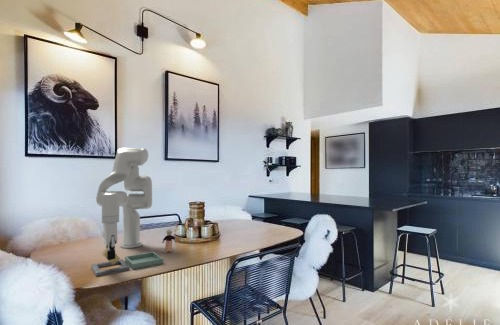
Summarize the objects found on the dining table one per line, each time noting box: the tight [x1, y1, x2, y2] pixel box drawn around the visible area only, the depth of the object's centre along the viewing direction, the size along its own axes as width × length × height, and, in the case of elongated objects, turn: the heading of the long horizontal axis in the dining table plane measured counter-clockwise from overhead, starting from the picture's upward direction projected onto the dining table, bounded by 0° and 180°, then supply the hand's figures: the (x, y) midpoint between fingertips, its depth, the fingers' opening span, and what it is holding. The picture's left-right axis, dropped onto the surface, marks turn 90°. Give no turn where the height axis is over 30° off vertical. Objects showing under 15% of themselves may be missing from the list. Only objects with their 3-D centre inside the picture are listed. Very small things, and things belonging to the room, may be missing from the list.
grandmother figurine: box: [161, 229, 177, 253], centre depth 168 cm, size 8×4×13 cm, turn 126°
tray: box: [124, 251, 164, 271], centre depth 149 cm, size 15×15×2 cm
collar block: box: [90, 258, 131, 277], centre depth 140 cm, size 14×14×2 cm
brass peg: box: [101, 247, 121, 266], centre depth 140 cm, size 4×4×7 cm
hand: (110, 257), depth 140 cm, fingers closed on brass peg, 3 cm apart
